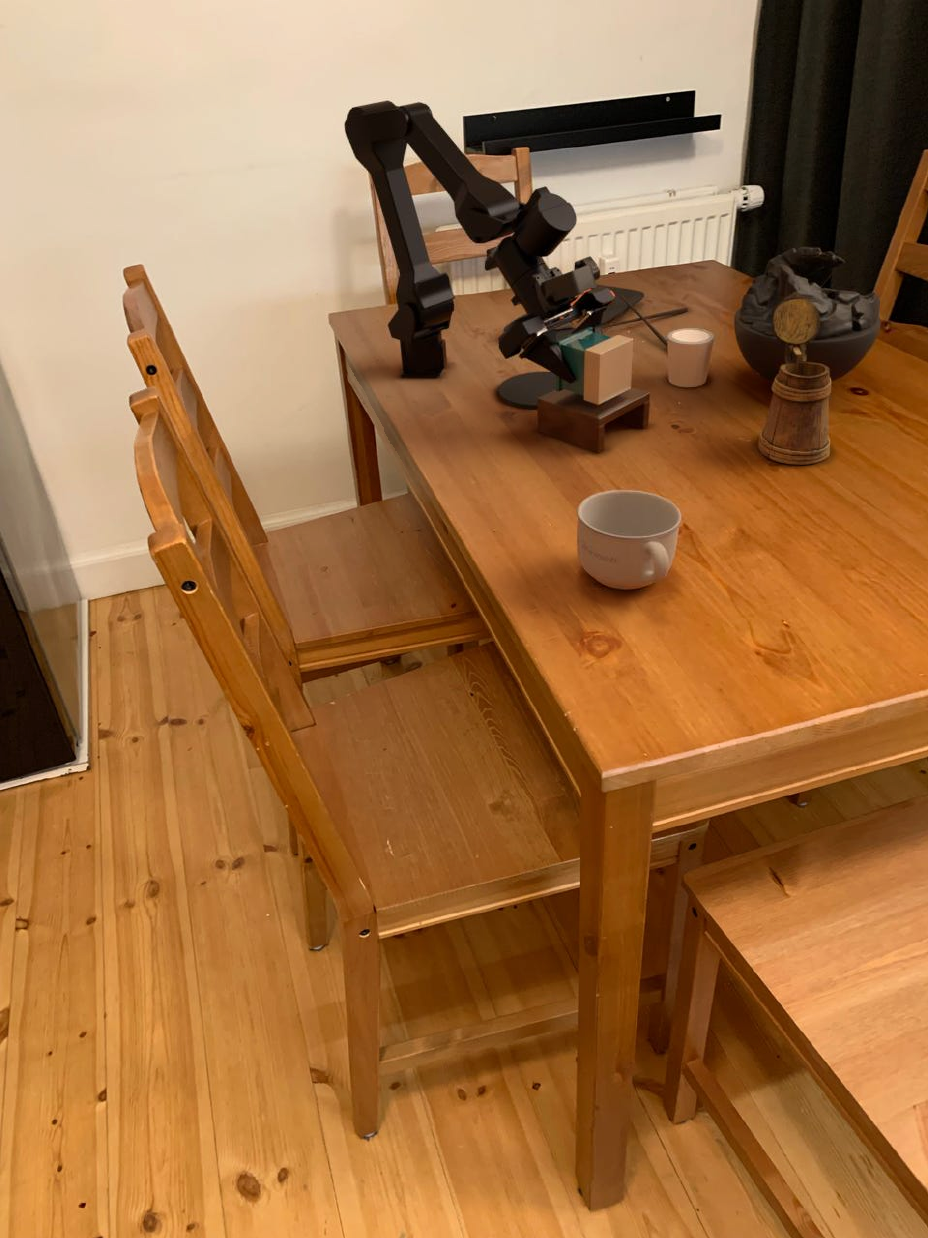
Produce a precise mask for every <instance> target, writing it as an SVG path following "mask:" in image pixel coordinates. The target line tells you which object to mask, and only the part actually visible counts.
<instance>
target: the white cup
mask: <svg viewBox="0 0 928 1238" xmlns="http://www.w3.org/2000/svg"><path fill="white" fill-rule="evenodd" d="M666 337H667V338H666V340H667V347H668V348H667V347H666V348H667V378H668V379H667V380H668V383H670V384H671V385H673V386H676V387H680V388H695V387H699V386H702V385H704V384H705V383H706V381H707V377H708V372H709V367H710V363H711V362H710V360H711V356H712V351H713V345H714V342H715V341H714V340H715V335H714V333H713V332H711V331H709V330H707V329H702V328H693V327H687V328H684V327H683V328H679V329H674V330H672V331H670V332H669V333H668V334H667V336H666Z"/></svg>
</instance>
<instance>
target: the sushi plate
mask: <svg viewBox="0 0 928 1238" xmlns="http://www.w3.org/2000/svg"><path fill="white" fill-rule="evenodd" d="M596 285H597V287H599V286H604V287H608V288H609V290H610V291H611V293H612V294H613V296H614V298H615V300H614V301H613V302H612V303H611V304H610V305H609V306H608V307H607V311H606V312H605V313H604V314H603V317H602V322H601V327H602V329H606V328H612V327H616V326H621V325H625V324H626V325H627V324H631V323H636V322H640V321H642V322H643V323H644V324H645V325H646V326H647V327H648V329H649V330H651V332H652V333H653V334H654V335H655V336H656V337H657V339H659V340H660V342H661V343H662V344H663V345H664V346H665V347H666V348H667V349H668V347H667V338H665V336H663V335H662V333H660V332H659V331H658V330H657V329H656V328H655V327H654V326H653V325H652V324H651V323H650V322H649V321H648V320H652V319H657V318H662V317H666V316H667V317H668V316H672V315H676V314H681V313H686V312H689V307H681V308H677V309H672V310H668V311H663V312H659V313H655V314H650V315H646V316H643V315H642V314H641V313H640V312H639V311H638V310H637V309H636V308H635V307H634V306H636V304H638V303H639V302H641V301H642V300H643V299H644V298H645V293H644V292H642V291H639V290H636V289H631V288H623V287H618V286H617V287H616V286H610V285H604V284H603V285H602V284H596ZM589 290H591V289H589ZM589 290H586V291H584V293H585V292H587V291H589ZM584 293H583V294H584ZM583 294H580V295H579V297H578V298H577V299H576V300H575V301H574V302H572V303H571V306H572V305H573V304H574V303H575V302H576V301H577V300H578V299H579V298H580V297H581V296H582V295H583ZM629 309H631V310H632V311H633V312H634V313H635V314H636V315H637V316H638V318H633V319H629V320H624V321H623V320H622V321H620V322H615V323H610V324H607V323H608V322H610V321H611V320H613V319H614V318H617V317H618V316H619V315H621V314H622V313H624V312H626V311H627V310H629ZM525 316H527V313H526V312H525V313H524V314H523V315H521V316H519V317H517V318H516V319H514V320H512V321H510V322H509V323H508V324H507V325H505V326H504V328H503V333H504V332H505V331H506V330H507V328H508V327H509V326H510V325H511V324H512V323H513V322H514V321H515V320H517V319H520V318H522V317H525ZM562 318H564V317H561V318H560V319H562ZM549 324H550V323H549ZM605 324H606V325H605ZM574 330H575V327H574V326H573V325H572V324H571V322H569V323H567V324H565V325H562V326H560V327H558V328H556V341H558V340H560V339H562V338H565V337H567V336H569V335H571V333H572V332H573V331H574Z"/></svg>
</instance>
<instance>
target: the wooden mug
mask: <svg viewBox="0 0 928 1238" xmlns="http://www.w3.org/2000/svg"><path fill="white" fill-rule="evenodd" d="M772 323H773V333H774V335H775V337H776V338H777V340H778V341H779V342H781V343H782V344H783V345H784V346H785V362H786V364H783V365H782V366H781V367H780V370H779V374H778V375H777V376H776V378H775V380H774V383H772V385H771V391H772V393H773V394H772V398H771V401H770V406H769V409H768V413H767V415H766V419H765V423H764V427H763V428H762V429H761V431H760V433H759V438H758V442H757V448H758V450H759V453H760V454H762V455H763V456H765V457H766V458H768V459H770V460H772V461H775V462H778V463H780V464H781V463H782V464H787V465H812V464H818V463H820V462H822V461H824V460H826V459H827V458H828V457H829V456H830V454H831V440H830V437H829V432H830V431H829V426H830V422H829V421H830V420H829V419H830V416H829V415H830V414H829V413H830V411H829V410H830V394H831V393H832V382H831V378H830V370H829V368H828V367H827V366H826V365H823V364H819V363H812V362H806V360H807V351H806V345H807V344H808V343H809V342H811V341H812V340H813V339H814V338H815V336H816V335H817V334H818V331H819V325H820V316H819V312H818V310H817V308H816V306H815V305H814V303H813V302H812V301H811V300H809V299H808V298H807V297H805V296H803V295H802V294H800V293H798V292H794V293H792V294H791V295H789V296H788V297H786V298H785V299H784V300H783V301H781V302H780V303H779V304H778V305H777V307H776V308H775V310H774V313H773V318H772Z"/></svg>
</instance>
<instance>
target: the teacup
mask: <svg viewBox="0 0 928 1238" xmlns="http://www.w3.org/2000/svg"><path fill="white" fill-rule="evenodd" d="M576 515H577V526H576V527H577V528H576V529H577V531H576V536H577V537H576V551H577V557H578V561H579V563H580V565H581V567H582V568H583V570H584V571H585V572H586V573H587V574H588V575H589V576H591V577H592V578H594V579H595V580H596V581H597V582H599V583H600V584H602V585H603V586H606V587H608V588H611V589H617V590H636V589H642V588H644V587H646V586H650V585H652V584H653V583H659V582H661V581H663V580H665V579H666V578H667V576H668V574H669V570H670V569H671V567H672V564H673V563H674V558H675V554H676V550H677V544H678V537H679V530H680V525H681V523H682V519H683V517H682V513H681V510H680V509H679V507H678V506H677V505H676V504H675V503H673V502H672V501H670V500H669V499H667V498H665V497H663V496H661V495H658V494H654V493H651V492H649V491H642V490H634V489H611V490H605V491H601V492H597V493H594V494H591V495H590V496H588V497H586V498H584V499H583V500H582V501H581V502H580V503H579V505H578V507H577V510H576Z"/></svg>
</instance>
